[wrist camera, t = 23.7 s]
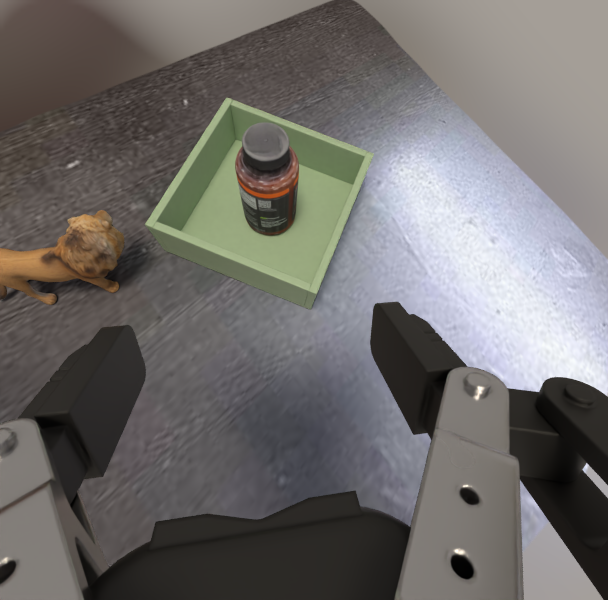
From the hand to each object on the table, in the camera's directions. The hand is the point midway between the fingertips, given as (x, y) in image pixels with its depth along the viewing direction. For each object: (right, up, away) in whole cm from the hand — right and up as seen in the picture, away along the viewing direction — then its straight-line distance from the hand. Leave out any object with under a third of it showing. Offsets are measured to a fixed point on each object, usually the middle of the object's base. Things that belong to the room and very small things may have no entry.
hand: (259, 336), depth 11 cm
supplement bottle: (-2, +11, +26) cm, 29 cm away
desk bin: (-3, +11, +27) cm, 29 cm away
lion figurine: (-22, +4, +23) cm, 32 cm away
